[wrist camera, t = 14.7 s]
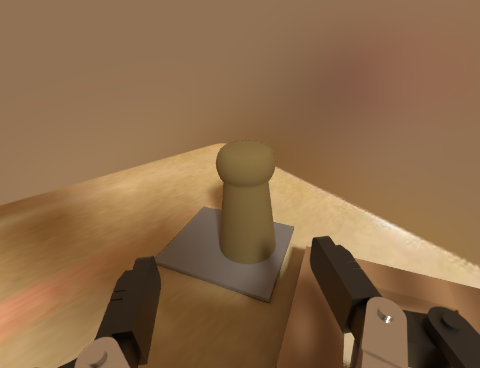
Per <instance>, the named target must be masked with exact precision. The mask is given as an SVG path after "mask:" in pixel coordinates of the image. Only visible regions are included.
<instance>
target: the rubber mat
mask: <svg viewBox="0 0 480 368" xmlns="http://www.w3.org/2000/svg"><path fill="white" fill-rule="evenodd" d="M221 215H222V211H221V210H217V209H212V208H208V207H203V208H202V209H201V210H200V211H199V212H198V213H197V215H196V216H195V217H194V218H193V219H192V220H191V221H190V222H189V223H188V224H187V225H186V226H185V227H184V228H183V229H182V230H181V231H180V232H179V234H178V235H177V236H176V237H175V238H174V239H173V240H172V241H171V242H170V243H169V244H168V245H167V246H166V247H165V248H164V249H163V250H162V251H161V253H160V254H159V255H158V256H157V257H156V258H155V261H156V264H158V265H161V266H164V267H167V268H170V269H173V270H175V271H178V272H181V273H184V274H187V275H190V276H193V277H196V278H199V279H201V280H204V281H207V282H210V283H213V284H216V285H219V286H222V287H224V288H227V289H230V290H233V291H236V292H239V293H242V294H245V295H248V296H250V297H253V298H256V299H259V300H262V301H265V302H268V303H269V301H270V298H271V295H272V292H273V289H274V286H275V283H276V280H277V277H278V274H279V271H280V269H281V266H282V263H283V260H284V257H285V254H286V251H287V248H288V245H289V242H290V239H291V236H292V233H293V230H294V226H289V225H285V224H280V223H275V222H273V224H274V233H275V241H276V247H275V250H274V253H273V254H272V255H271V256H270V257H269V258H267V259H266V260H264V261H262V262H259V263H255V264H240V263H236V262H233V261H231V260H230V259H228V258H226V257H225V256H224V254H223V253H222V252H221V249H220V246H219V243H220V229H221Z"/></svg>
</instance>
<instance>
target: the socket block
mask: <svg viewBox="0 0 480 368" xmlns="http://www.w3.org/2000/svg"><path fill="white" fill-rule="evenodd" d="M310 253H311V247H307V246H306V249H305V253H304V257H303V261H302V265H301V269H300V273H299V277H298V281H297V285H296V289H295V293H294V297H293V301H292V305H291V309H290V313H289V317H288V321H287V325H286V329H285V333H284V337H283V341H282V345H281V349H280V353H279V357H278V361H277V365H276V368H343V350H344V334H343V333H342V331H341V329H340V327H339V325H338V323H337V321H336V319H335V317H334V315H333V313H332V311H331V309H330V307H329V304H328V302H327V300H326V298H325V296H324V294H323V292H322V290H321V288H320V286H319V284H318V282H317V280H316V278H315V276H314V274H313V272H312V269H311V266H310ZM354 259H355V260H356V262H357V263H358V264H359V265H360V267H361V269H362V270H363V271H364V272H365V274H366V275H367V276H368V278H369V279H370V281H371V282H372V283H373V285H374V286H375V287H376V289H377V290H378V292H379V293H380V294H381V296H382V297H383V298H386V299H389V300H391V301H393V302H394V303H396V304H397V305H398V306H399V307H400V308H401V309H403V310H407V311H412V312H419V313H425V314H427V313H428V311H429V309H431V308H432V307H436V306H440V307H445V308H448V309H451V310H453V311H455V312H456V313H458V314H460V315H461V316H462V317H463V318H465V319H466V320H467V321H468V322H469V323H470V324H471V326H472V327H473V328H474V329H475V330H476V331H477V332H478V333H479V334H480V289H478V288H474V287H470V286H466V285H462V284H458V283H454V282H450V281H446V280H442V279H437V278H433V277H429V276H425V275H421V274H417V273H413V272H409V271H405V270H401V269H397V268H393V267H389V266H385V265H381V264H376V263H372V262H368V261H364V260H360V259H356V258H354Z"/></svg>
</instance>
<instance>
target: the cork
mask: <svg viewBox="0 0 480 368" xmlns="http://www.w3.org/2000/svg"><path fill="white" fill-rule="evenodd" d="M216 168H217V171H218V174H219V176H220V179H221V180H222V181H223V182H224V186H223V200H222V215H221V229H220V243H219V246H220V249H221V252H222V253H223V254H224V256H225V257H226V258H228V259H230V260H231V261H233V262H236V263H240V264H255V263H259V262H262V261H264V260H266V259H267V258H269V257H270V256H271V255H272V254H273V253H274V250H275V247H276V241H275V233H274V224H273V216H272V208H271V199H270V191H269V182H268V181H269V180H270V179H271V177H272V175H273V173H274V170H275V158H274V153H273V151H272V150H271V148H270V147H269V146H268V145H266V144H264V143H262V142H258V141H252V140H241V141H235V142H231V143H229V144H226V145H225V146H223V147H222V148H221V149H220V151H219V153H218V155H217V159H216Z"/></svg>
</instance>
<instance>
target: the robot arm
mask: <svg viewBox="0 0 480 368" xmlns="http://www.w3.org/2000/svg"><path fill="white" fill-rule="evenodd" d="M310 266H311V269H312V272H313V274H314V276H315V278H316V280H317V282H318V284H319V286H320V288H321V290H322V292H323V294H324V296H325V298H326V300H327V302H328V304H329V307H330V309H331V311H332V313H333V315H334V317H335V319H336V321H337V323H338V325H339V327H340V329H341V331H342V333H343V334H344V333H350V332H351V333H352V334H353V336H354V338H355V340H354V344H353V350H352V357H351V363H350V368H408V367H411V368H480V334H479V333H478V332H477V331H476V330H475V329H474V328H473V327H472V326H471V324H470V323H469V322H468V321H467V320H466V319H465V318H463V317H462V316H461V315H460V314H458V313H456V312H455V311H453V310H451V309H448V308H445V307H440V306H436V307H432V308H431V309H429V311H428V313H427V314H425V313H419V312H412V311H407V310H403V309H401V308H400V307H399V306H398V305H397V304H396V303H394V302H393V301H391V300H389V299H386V298H383V297H382V296H381V294H380V293H379V292H378V290H377V289H376V287H375V286H374V285H373V283H372V282H371V281H370V279H369V278H368V276H367V275H366V274H365V272H364V271H363V270H362V269H361V267H360V265H359V264H358V263H357V262H356V260H355V259H354V257H353V256H352V254H351V253H350V252H349V251H348V250H347V249H345V248H344V247H343V246H341V245H335V244H334V242H333V241H332V239H331V238H330V237H329V236H323V237H314V238H313V240H312V246H311V253H310ZM160 290H161V279H160V275H159V271H158V268H157V265H156V261H155V258H154V256H151V257H142V258H137V259H136V261H135V264H134V267H133V270H129V271H125V272H124V273H123V274H122V276H121V277H120V278H119V279H118V281H117V283H116V286H115V288H114V291H113V293H112V296H111V299H110V302H109V304H108V307H107V309H106V312H105V314H104V317H103V320H102V322H101V325H100V328H99V330H98V333H97V335H96V338H95V340H94V341H93V342H92V343H90V344H89V345H88V346H87V347H86V348H84V350H83V351H82V352H81V353H80V355H79V356H78V358H76V359H75V360H73V361H71V362H69V363H67V364H65V365H62V366H60V367H58V368H138V365H145V364H147V361H148V356H149V350H150V345H151V339H152V334H153V328H154V323H155V318H156V312H157V307H158V301H159V296H160Z"/></svg>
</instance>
